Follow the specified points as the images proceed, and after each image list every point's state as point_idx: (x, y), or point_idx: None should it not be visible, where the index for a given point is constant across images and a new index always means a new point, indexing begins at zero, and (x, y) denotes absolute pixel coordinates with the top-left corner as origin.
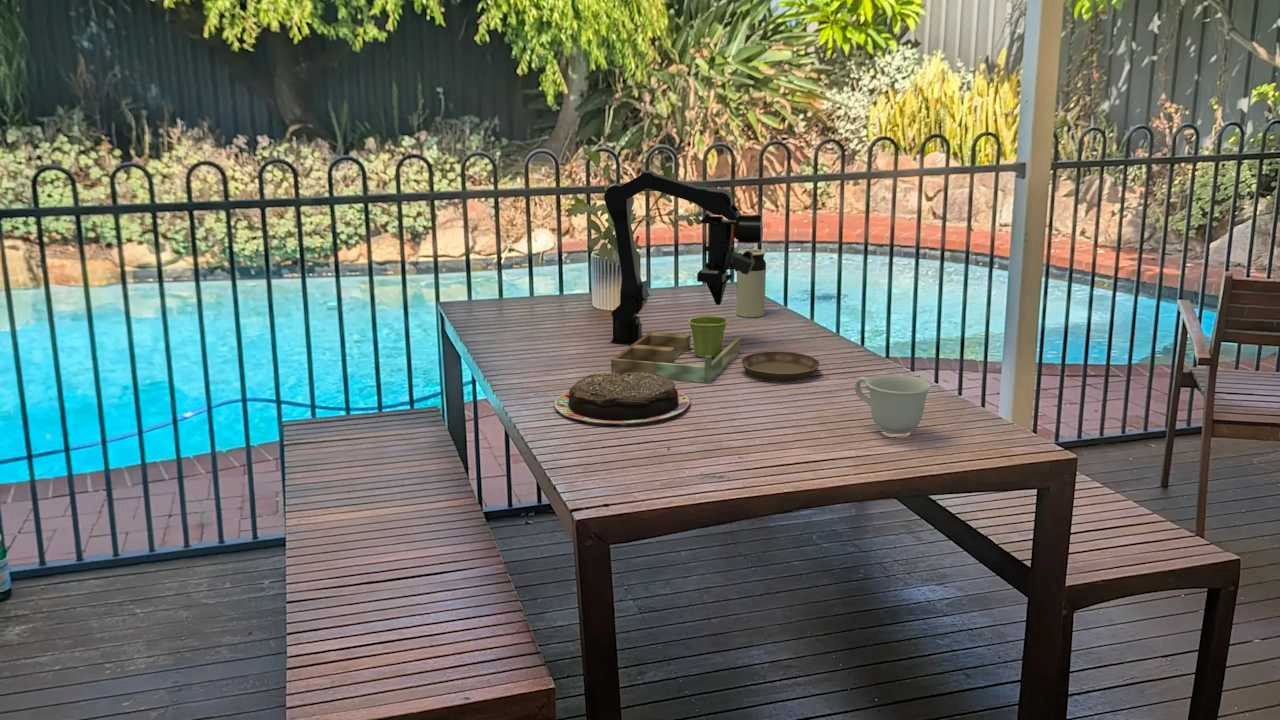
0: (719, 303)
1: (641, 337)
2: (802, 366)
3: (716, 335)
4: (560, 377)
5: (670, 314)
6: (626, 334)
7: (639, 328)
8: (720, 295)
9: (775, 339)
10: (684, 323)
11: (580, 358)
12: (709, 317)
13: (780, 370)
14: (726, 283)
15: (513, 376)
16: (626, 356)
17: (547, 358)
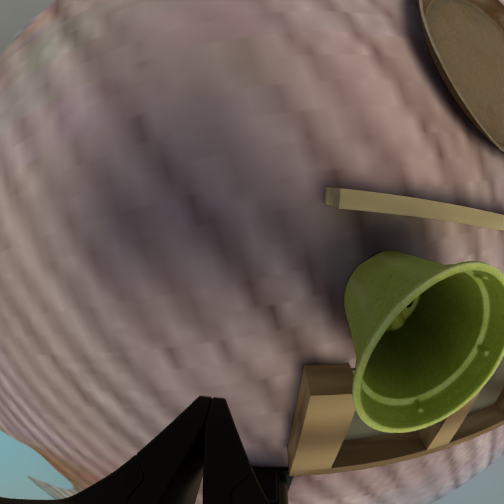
0: (225, 407)
1: (253, 471)
2: (434, 3)
3: (469, 283)
4: (486, 444)
5: (20, 410)
6: (286, 493)
7: (269, 492)
8: (244, 456)
9: (93, 106)
10: (50, 394)
11: (399, 480)
12: (360, 384)
13: (483, 61)
14: (84, 497)
15: (466, 475)
16: (470, 427)
17: (393, 499)
